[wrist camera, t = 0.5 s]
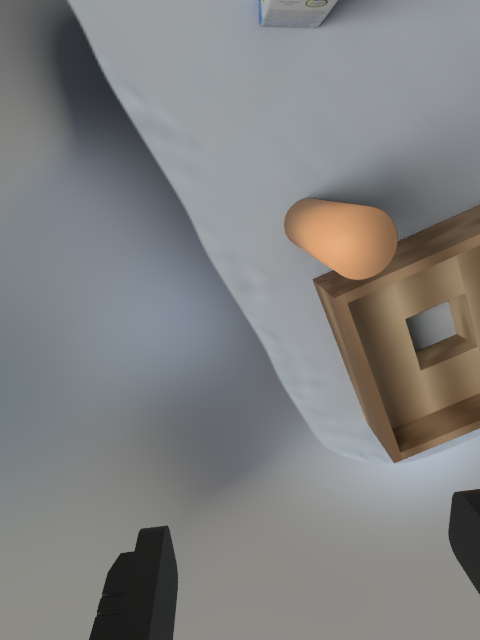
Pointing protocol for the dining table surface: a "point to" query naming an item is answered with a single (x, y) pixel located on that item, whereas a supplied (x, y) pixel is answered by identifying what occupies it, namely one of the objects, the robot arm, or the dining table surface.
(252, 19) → the dining table surface
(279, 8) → the medicine box
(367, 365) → the box
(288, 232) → the peg
